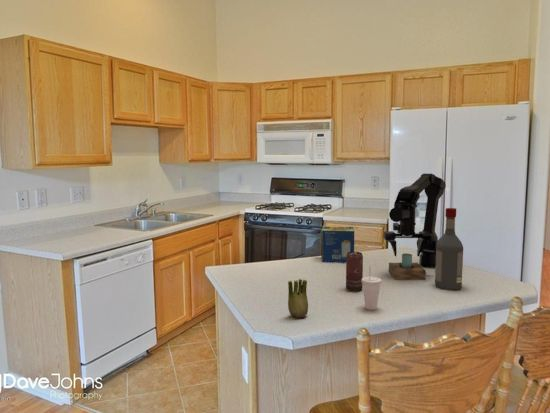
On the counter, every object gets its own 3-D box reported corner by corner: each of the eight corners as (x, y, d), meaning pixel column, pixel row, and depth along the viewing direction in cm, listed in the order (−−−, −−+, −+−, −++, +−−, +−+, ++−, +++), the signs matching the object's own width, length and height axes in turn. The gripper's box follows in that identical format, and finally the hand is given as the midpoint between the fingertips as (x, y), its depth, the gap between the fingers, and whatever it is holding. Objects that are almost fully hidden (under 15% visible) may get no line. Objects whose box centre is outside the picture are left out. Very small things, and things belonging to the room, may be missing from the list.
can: (361, 286, 157) (361, 251, 156) (363, 292, 151) (363, 255, 149) (345, 286, 158) (345, 250, 156) (346, 291, 152) (346, 254, 150)
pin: (412, 274, 169) (413, 255, 168) (402, 274, 169) (403, 255, 168) (410, 272, 173) (410, 253, 172) (400, 271, 173) (400, 253, 172)
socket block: (416, 271, 177) (417, 262, 176) (425, 280, 165) (425, 270, 164) (388, 271, 177) (388, 262, 177) (395, 279, 165) (395, 270, 165)
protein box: (322, 257, 205) (322, 226, 203) (353, 257, 202) (353, 226, 200) (321, 262, 194) (321, 230, 192) (354, 263, 192) (354, 230, 190)
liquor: (435, 288, 154) (438, 209, 150) (434, 281, 162) (437, 206, 159) (461, 291, 151) (465, 210, 147) (459, 284, 159) (463, 207, 155)
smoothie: (358, 304, 138) (359, 264, 137) (377, 303, 139) (378, 263, 137) (364, 311, 132) (365, 269, 130) (383, 310, 133) (384, 268, 131)
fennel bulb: (287, 318, 128) (286, 280, 126) (292, 312, 132) (291, 276, 131) (305, 320, 126) (304, 282, 124) (309, 314, 130) (309, 278, 129)
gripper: (424, 216, 176) (423, 251, 177) (380, 216, 177) (380, 251, 178) (433, 220, 164) (432, 258, 166) (386, 220, 166) (385, 258, 167)
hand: (406, 256), depth 170 cm, fingers open, 9 cm apart
